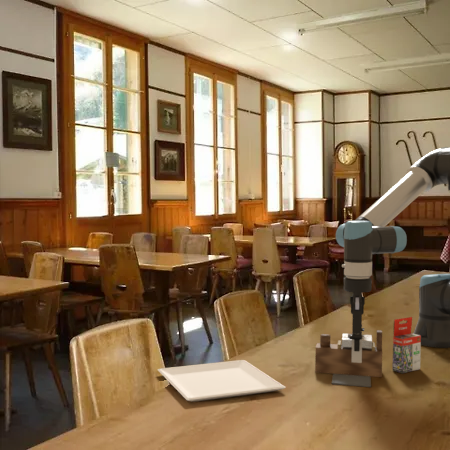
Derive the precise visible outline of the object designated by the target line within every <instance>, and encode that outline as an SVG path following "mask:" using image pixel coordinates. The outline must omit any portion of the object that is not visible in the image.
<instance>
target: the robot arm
mask: <svg viewBox="0 0 450 450" xmlns="http://www.w3.org/2000/svg"><path fill="white" fill-rule="evenodd" d="M405 173H406V174H405V176H403V177H402V178H400V180H399V181H397V182H396V183H395V184H394V185H393V186H391V188H390V189H389V190H387V192H385V193H384V194H383V195H382V196H381V197H380V198H378V199H377V200H376V201H375V202H374V203H373V204H372V205H371V206H369V208H367V209H366V210H365V211H364V212H363V213H361V214H360V215H359V216H358V217H357V218H355V220H348V221H346V222H345V223H343V224H340V225H339V226H338V227H337V229H336V231H335V240H336V242H337V244H338V245H339V246H340V247H342V248H343V262H344V263H343V264H341V267H342V268H344V269H343V275H344V276H345V277H343V290H344V291H346V292H348V293H353V294H352V296H349V297H350V298H349V303H350V304H349V305H350V314H351V315H352V327H351V330H352V331H351V332H352V333H351V334H352V337H350V339H352V362H354V363H362V335H363V332H365V328H364V327H363V323H362V319H363V317H362V316H363V315H364V312H365V311H364V310H365V309H364V307H365V304H366V302H365V301H366V300H365V296H363V294H362V293H369V292H371V291H372V283H373V282H372V281H373V279H372V278H371V276H373V255H376V254H377V255H380V254H381V255H382V254H395V253H399V252H402V251H403V250H404V249H405V248H406V246H407V241H408V239H407V234H406V231H405V230H404V229H403V228H402V227H400V226H393V225H389V226H387V225H388V224H389V223H390V222H392V221H393V220H394V219H395V218H396V217H397V216H398V215H400V213H402V212H403V211H404V210H405V209H406V208H407V207H408V206H410V204H411V203H412V202H414V201H415V200H416V199H417V198H418V197H419V196H420V195H422V194H423V193H427V192H429V191H431V189H432V188H434V187H436V186H440V185H447V191H448V192H449V193H450V146H445V147H440V148H436V149H434V150H432V151H430V152H429V153H427V154H425V155H424V156H422V157H420V158H419V159H418V160H417V161H415V162H414V163H413V164H412V165H411V166H410V167H408V169H407V170H406V172H405ZM418 289H419V292H418V294H419V295H418V302H419V303H418V304H419V305H418V320H417V323H416V325H415V329H414V331H413V333H412V334H416V335H421V346H425V347H428V348H429V347H430V348H440V349H441V348H443V349H449V348H450V273H434V274H432V273H430V274H424V275H422V276H421V277H420V280H419V288H418Z"/></svg>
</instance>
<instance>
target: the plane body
mask: <svg viewBox="0 0 450 450" xmlns="http://www.w3.org/2000/svg"><path fill="white" fill-rule="evenodd" d="M319 335H320V339H319V343H318V342H317V343H316V345H315V360H314V365H315V367H314V369H315V370H314V372H315V373H321V374H322V373H323V374H332V375H333V374H344V375H358V376H371V377H376V378H382V377H383V331H382V330H381V329H377V330H376V341H375V342H376V344H375V342H374V341H372V349H371V348H362V363H354V362H352V347H342V339H341V340H339V339H338V340H337V343H331V334H328V333H327V334H326V333H325V334H324V333H322V334H319Z"/></svg>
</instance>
